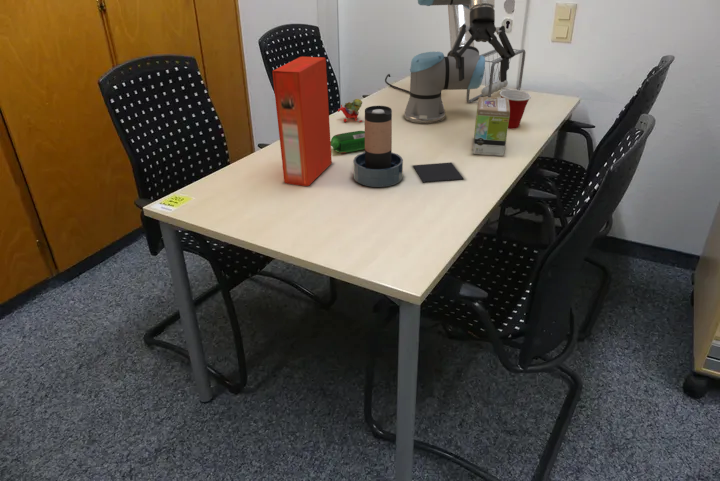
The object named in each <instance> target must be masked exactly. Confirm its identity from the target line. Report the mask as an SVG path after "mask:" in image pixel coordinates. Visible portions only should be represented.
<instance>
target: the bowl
mask: <svg viewBox="0 0 720 481" xmlns="http://www.w3.org/2000/svg"><path fill="white" fill-rule="evenodd" d="M352 162H353V163H352V166H353V180H354V181H356V183H358V184H360V185H363V186H367V187H371V188H384V187H390V186H394V185H396V184H398V183H400V182H401V181H402V180H403V176H404V159H403V157H402V156H401V155H400V154H398V153H395V152H391V168H387V169H369V168H366V164H365V152H362V153H359V154H357V155H356V156H354V158H353V161H352Z"/></svg>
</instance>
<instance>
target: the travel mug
mask: <svg viewBox="0 0 720 481" xmlns="http://www.w3.org/2000/svg"><path fill="white" fill-rule="evenodd" d="M364 131H365V149H364V153H365V164H366V168H369V169H387V168H391V152H392V149H393V147H392V146H393V145H392V144H393V141H392V140H393V137H392V135H393V109H392V108H391V107H389V106H386V105H372V106H368V107H365V109H364ZM392 153H393V152H392Z"/></svg>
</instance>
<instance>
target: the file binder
mask: <svg viewBox="0 0 720 481" xmlns="http://www.w3.org/2000/svg"><path fill="white" fill-rule="evenodd" d="M326 60H327V59H326V57H321V56H299V57H297V58H294V59H293V60H291V61H289V62H288V63H285V64H283V65H281V66H279V67H277V68H275V69H274V70H272V82H273V89H274V90H273V91H274V100H275V108H276V117H277V126H278V127H277V128H278V135H279V136H278V137H279V145H280V154H281V156H280V157H281V164H282V173H283V181H284V184H289V185H295V186H302V187H308V186H310V185H311V184H312V183H313V182H314V181H315V180H317V179H318V177H319V176H321V174H323V172H324V171H325V170H327V168H329V167H330V166H331V165H332V163H333V160H332V146H331V125H330V111H329V110H330V109H329V92H328V90H329V89H328V74H327V73H328V72H327V61H326Z"/></svg>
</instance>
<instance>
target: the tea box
mask: <svg viewBox="0 0 720 481" xmlns="http://www.w3.org/2000/svg"><path fill="white" fill-rule="evenodd" d="M477 102H478V103H477V107H476V113H475V114H476V115H475V125H474V134H473V148H472V149H473V150H472V152H473V155H483V156H499V157H501V156H504V155H505V150H506V144H507V143H506V142H507V136H508V130H509V128H508V123H509V117H510V105H509V98H501V97H493V96H491V97H488V96H482V97H479V98H478V99H477Z"/></svg>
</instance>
